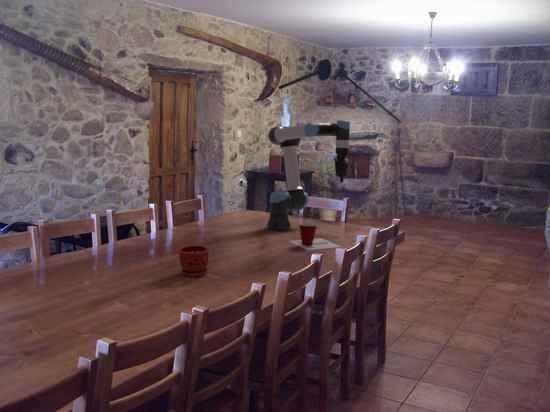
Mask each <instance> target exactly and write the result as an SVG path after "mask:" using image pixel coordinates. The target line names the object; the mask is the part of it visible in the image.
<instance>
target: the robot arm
mask: <svg viewBox="0 0 550 412" xmlns="http://www.w3.org/2000/svg"><path fill="white" fill-rule="evenodd" d="M350 126H351V124H350V120H344V119H342V120H340V119H339V120H337V121H336V123H332V122H308V123H306V124H300V125H294V126H291V125H290V126H274V127H271V128H270V130H269V131H268V133H267V137H268V138H267V139H268V141H269V142H270V143H271V144H273V145H276V146H280V150H281V151H282V152H283V160H284V169H285V177H286V186H287V188H286V189H285V190H278V191H273V192H272V193H271V194H270V196H269V218H268V219H267V222H266V223H267V224H266V229H267V230H269V231H273V232H274V231H276V232H285V231H290V230H291V222H290V218H289V212H293V211H300V210H305V209H306V207H307V206H308V204H309V195H308V193H307V192H305V191H304V190H305V189H304V187H302V185H301V179H300V178H301V177H300V169H299V159H298V152H297V150H298V148H299V144H300V143H301V140H302V139H304V138H310V137H312V138H313V137H335V152H334V153H335V154H336V157H334V158H333V161H334V169H335V175H336V176H337V188H338V189H339V188H343V187H344V178H345V177H346V176H347V172H348V168H349V167H348V166H349V163H350V159H348V157H347V156H348V154H349V149H350V148H349V145H350V130H351V129H350V128H351V127H350Z"/></svg>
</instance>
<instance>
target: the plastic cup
mask: <svg viewBox="0 0 550 412" xmlns="http://www.w3.org/2000/svg"><path fill="white" fill-rule="evenodd" d="M298 226H299V230H300V231H299V232H300V240H302V245H312V244H313V239H315V235H316V231H317V227H318V224H317V223H313V222H312V223H311V222H299V223H298Z"/></svg>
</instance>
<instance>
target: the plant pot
mask: <svg viewBox="0 0 550 412" xmlns="http://www.w3.org/2000/svg"><path fill="white" fill-rule="evenodd" d="M178 253H179V255H178V256H179V263H180V266H181V268H182V269H181V273H182V274H183V276H186V277H189V278H190V277H195V278H196V277H202V276H205V274H207V273H208V268H207V267H208V264H209V258H210V256H209V255H210V252H209V247H207V246H204V245H185V246H182V247H181V248H179V251H178Z"/></svg>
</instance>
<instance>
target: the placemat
mask: <svg viewBox="0 0 550 412" xmlns="http://www.w3.org/2000/svg"><path fill="white" fill-rule="evenodd" d="M288 242H289V243H290V244H293V245H295V246H297V247H299V248H301V249H304V250H306V251H312V250H313V251H314V250H324V249H325V250H326V249H335V248H342V246H341V245H338V244H336V243H333V242H331V241H329V240H326V239H325V238H322V237H321V238H314V239H313V244H312V245H302V240H301V239H299V240H298V239H297V240H288Z"/></svg>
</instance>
